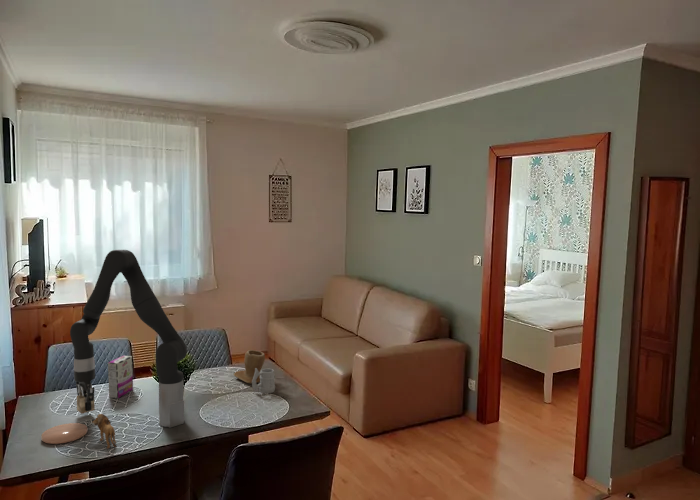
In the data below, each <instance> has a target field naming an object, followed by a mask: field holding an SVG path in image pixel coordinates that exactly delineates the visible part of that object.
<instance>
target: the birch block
mask: <svg viewBox="0 0 700 500" xmlns="http://www.w3.org/2000/svg"><path fill="white" fill-rule="evenodd" d="M86 398H87V397H86ZM89 399H90V397H89ZM95 407H96V406H95V400H94V401H91V408H92V409H91V410H90V411H85V398H84V397H83V396H82V395H79V396H78V395H76V410H77V412H79V413H80V414H81V415H83V414H86V413H90V412H92V411H94V412H95Z"/></svg>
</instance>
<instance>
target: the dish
mask: <svg viewBox="0 0 700 500" xmlns="http://www.w3.org/2000/svg"><path fill="white" fill-rule="evenodd" d="M87 433H88V426H87V425H86V424H84V423H78V422H71V423H63V424H58V425H55V426H53V427H50V428H48V429H46V430H45V431H44V432H42V433H41V438H40V439H41V441H42V442H44V443H46V444H51V445H57V444H64V443H65V444H66V443H70V442H73V441H76V440H79V439H81V438H83V437H84V436H85V435H87Z"/></svg>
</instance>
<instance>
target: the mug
mask: <svg viewBox="0 0 700 500" xmlns="http://www.w3.org/2000/svg"><path fill="white" fill-rule="evenodd" d="M259 375H260V382H258V384H257V383H256V379H257V377H258V376H259ZM275 378H276V375H275V370H274V369H273V368H269V367H268V368H261V370H260V373H259V371H258V370H257V368H255V373H254V377H253V380H252V384H251V387H252V389H253V390H254V392H257V391H258V389H259V392H260V393H262V394H272V393H274V392H275V390H276V385H275Z"/></svg>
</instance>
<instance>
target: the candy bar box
mask: <svg viewBox="0 0 700 500" xmlns="http://www.w3.org/2000/svg"><path fill="white" fill-rule="evenodd" d="M107 376H108V377H107V378H108V398H110V399H120V398H122V397H123V396H125V395H126V394H128V393H130V392H133V391H134V382H133V381H134V379H133V378H134V377H133V356H132V355H121V356H119V357H117V358H115V359H113V360H111V361H109V362H107Z"/></svg>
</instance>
